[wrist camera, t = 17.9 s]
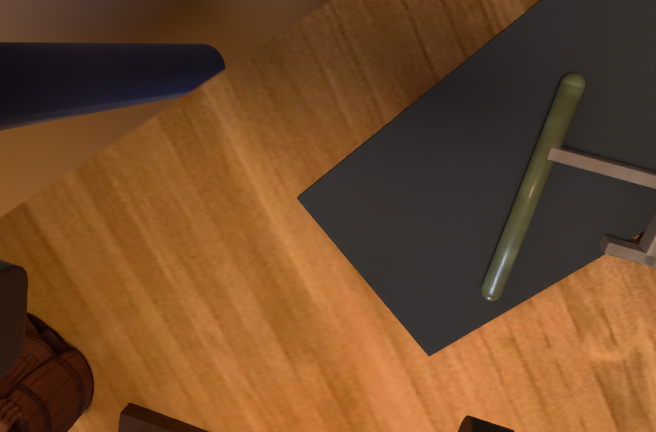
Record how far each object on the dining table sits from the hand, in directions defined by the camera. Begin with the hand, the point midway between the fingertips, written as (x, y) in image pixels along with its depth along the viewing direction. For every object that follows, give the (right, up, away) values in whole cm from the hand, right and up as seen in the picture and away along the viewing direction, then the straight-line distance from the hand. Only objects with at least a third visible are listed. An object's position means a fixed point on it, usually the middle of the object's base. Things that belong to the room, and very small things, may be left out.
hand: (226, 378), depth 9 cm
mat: (+14, +6, +26) cm, 31 cm away
